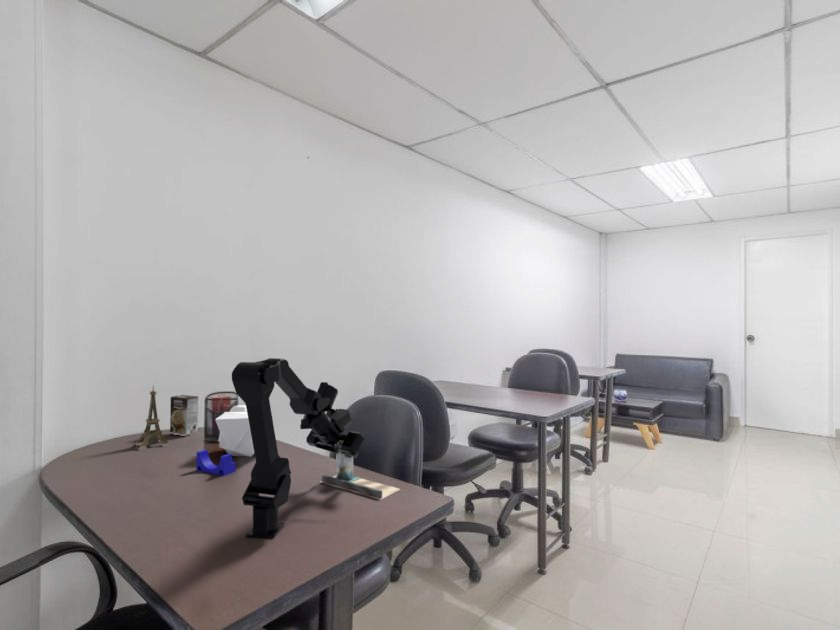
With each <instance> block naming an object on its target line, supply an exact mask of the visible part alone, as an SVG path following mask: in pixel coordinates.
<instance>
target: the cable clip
mask: <svg viewBox="0 0 840 630" xmlns="http://www.w3.org/2000/svg"><path fill="white" fill-rule="evenodd" d="M236 463H237V462H234V461H233V456H232V454H228V453H226V454H224V455H221V456H220V460H219V463H218V465H216V464H214V463H213V461H212V460H211V458H210V456H209V450H207V449H203V450H199V451H196V471H197V472H202V471H203V472H202V473H207V474H213V475H217V476H218V475H220V476H224V477H225V476H227V475H230V474H233V473H235V472H236V470H237V469H236V465H237V464H236Z"/></svg>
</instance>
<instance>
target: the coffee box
mask: <svg viewBox="0 0 840 630" xmlns="http://www.w3.org/2000/svg"><path fill="white" fill-rule="evenodd" d="M169 411H170V412H169V413H170V415H169V416H170V418H169V419H170V421H169V424H170V425H169V433H170V432H172V433H179V434H190V433H194V432H197V431H199V429H198V425H199V420H198V419H199V396H197V395H185V394H182V395H175V396H173V395H172V396H171V397H170V410H169ZM197 433H198V432H197Z"/></svg>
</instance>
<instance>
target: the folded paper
mask: <svg viewBox="0 0 840 630" xmlns="http://www.w3.org/2000/svg"><path fill="white" fill-rule="evenodd" d="M215 423H216V425H217V428H218V431H219V436H218V440H217V441H218V442H219V445H218V448H220V449H224V451H225V452H226V454H232V457H245V458H252V457H253V456H254V455H255V453H254V448H253V442H252V437H251V431H250V425H249V420H248V414H247V409H246V405H244V404H243V405H242V404H240V405H235V406H232V407H231V408H230V410H229V411H224V412H223V413H222V414H221V415H219V416H218V417H217V418H215Z"/></svg>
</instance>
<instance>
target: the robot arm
mask: <svg viewBox="0 0 840 630" xmlns="http://www.w3.org/2000/svg"><path fill="white" fill-rule="evenodd" d="M231 381H232V384H233V387H234V388H233V389H234V390H235V391H234V392H235V394H236V395H238V397H239V398H240V399H241V400H242V402H243V403H244V404H245V406H246V409H247V414H248V420H249V425H250V431H251V437H252V442H253V448H254V458H255V463H254V464H253V467H252V469H251V471H250V481H249V483H248V485H247V486H246V489H245V491H244V493H243V495H242V498H241V500H242V504H243V506H250V507H251V508H252V509H251V510H252V516H251V517H252V518H251V519H252V523H251V524H252V526H251V528H250V529H249V530H248V531H247V532H246V533H245V536H246V537H248V538H249V537H250V538H275V537H276V536H277V535H278V533H279V532H280V530H281V529H283V527H284V526H285V522H283V521H282V522H280V520H279V519H280V507H282V506H283V505H285V504H286V503H288V500H289V499H288V498H289V495H290V490H291V484H292V477H291V474H292V471H291V468H290V460H289V458H287V457H281V456H280V455H279V452H278V445H277V439H276V433H275V426H274V420H273V415H272V414H273V413H272V410H271V408H272V407H271V402H270V397H271V395H272V393H273V392H274V391H273V390H274V388H275V384H276V385H277V386H278V388H280V389H281V391H282V392H283V393H284V394H285V395H286V396H287V397H288V399H289V406H290V408H291V409H292V411H293V413H294V414H296V415H303V418H302V419H300V427H299V428H300V429H301V430H308V429H309V430H310V432H309V433H308V435H307V436H306V439H305V441H306V444H308V446H311V447H315V448H317V449H321V450H324V451H328V452H331V453H334V454H336V445H337V443H338V442H339V443H342V445H341V450H342V451H343V452H342V454H345V455H348V456H351V457H353V459H354V458H355V459H357V458H358V456H359V453H358V451H359V450H360V447H361V445H362V444H363V441H364V440H365V436H364V435H363V433H362V432H359V431H354V430H351V431H348V433H347V434H343V433H344V432H345V430H346V428H345V426H346V425H348V424H349V423H350V422H351V421H352V420H353V418H352V415H351V413H350V410H349V409H345V408H335V409H334V408H333V406H334V404H335V401H336V399H337V396H338V394H339V390H338V389H337V388H336V387H335V386H333V385H331V384H329V383H328V382H325V381H322V382H321V381H320V383H319V387H318V388H317V391H316V390H314V389H311V388H309V387H307V386H306V385H305V384H304V382H303V381H302V380H301V379H300V377H299V376H298V375H297V374H296V373H295V372H294V370H293V369H292V368H291V367H290V365H289V361H288V360H287V359H284V358H276V357H274V358H272V357H271V358H270V357H269V358H267V359H264V360H258V361H253V362H252V361H241V362H238V363H237V364H236V366H235V367H234V369H233V370H232V372H231ZM260 494H261V495H260ZM266 495H268V496H266ZM269 495H270V496H269Z"/></svg>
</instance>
